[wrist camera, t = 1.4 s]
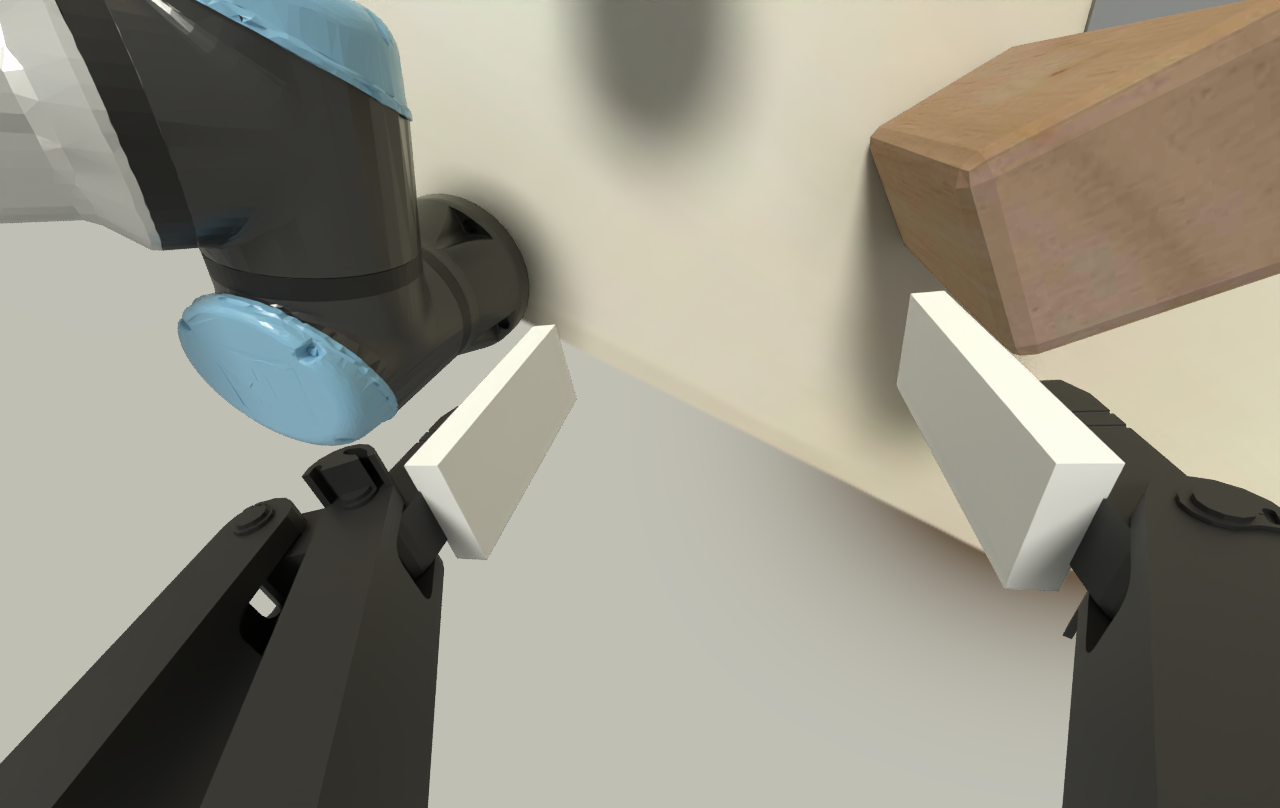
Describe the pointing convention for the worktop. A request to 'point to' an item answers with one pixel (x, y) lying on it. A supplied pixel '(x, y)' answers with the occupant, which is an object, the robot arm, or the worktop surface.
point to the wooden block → (1097, 174)
